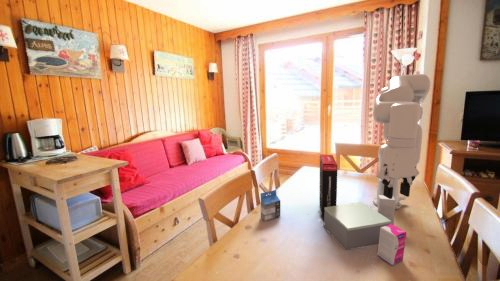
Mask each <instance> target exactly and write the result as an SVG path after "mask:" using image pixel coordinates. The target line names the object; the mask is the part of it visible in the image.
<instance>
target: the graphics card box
mask: <svg viewBox="0 0 500 281" xmlns="http://www.w3.org/2000/svg"><path fill="white" fill-rule="evenodd" d="M319 154H320V153H319ZM337 196H338V163H337V162H336V160H335V157H334V155H333V154H320V155H319V209H320V215H321V220H323V221H324V212H325V210H324V207H331V206H337V201H338V200H337Z"/></svg>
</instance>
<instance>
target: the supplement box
mask: <svg viewBox="0 0 500 281" xmlns="http://www.w3.org/2000/svg"><path fill="white" fill-rule="evenodd" d="M406 239H407V231H406V230H404V229H402V228H400V227H398V226H396V225H395V224H394V225H393V224H390V225H387V226H384V227H381V228H380V237H379V244H378V248H377V257H378V258H379V259H380V260H382V261H383V262H384V263H386V264H388V265H389V266H391V267H392V266H395V265H396V264H398V263H402V262H403V260H404V254H405V246H406Z"/></svg>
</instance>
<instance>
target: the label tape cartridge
mask: <svg viewBox="0 0 500 281" xmlns="http://www.w3.org/2000/svg"><path fill="white" fill-rule="evenodd" d="M280 217H281V199H280V198H279V197H278V195H277V190H276V189H274V190H270V191H266V192H261V193H260V218H261V219H262V220H263V221H264V222H267V221H270V220H274V219H276V218H280Z"/></svg>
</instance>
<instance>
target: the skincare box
mask: <svg viewBox="0 0 500 281" xmlns="http://www.w3.org/2000/svg"><path fill="white" fill-rule="evenodd" d="M395 201H396V200H395V199H394V197H393V196H392V199H389V198H387V197H385V196H384V195H379V196H378V206H377V212H378V213H380V214H381V215H383V216H384V217H386V218H388V219H389V220H391V224H393V225H395V224H394V223H395V222H394V221H395V212H396V209H395ZM389 225H390V224H389Z"/></svg>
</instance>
